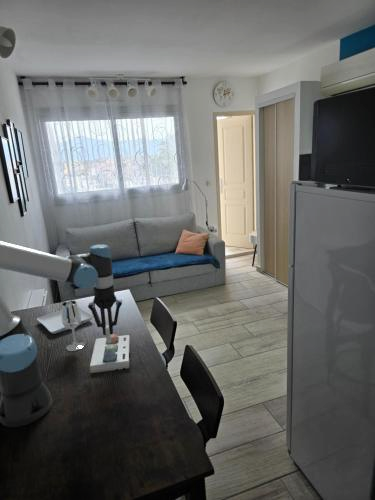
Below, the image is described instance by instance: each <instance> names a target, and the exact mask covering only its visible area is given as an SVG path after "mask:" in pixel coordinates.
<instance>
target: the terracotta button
mask: <svg viewBox="0 0 375 500" xmlns="http://www.w3.org/2000/svg"><path fill="white" fill-rule="evenodd" d="M117 336H118V335H117V334H116V333H113V334H111V343H108V344H116V343H118V339H117Z"/></svg>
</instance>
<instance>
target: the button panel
mask: <svg viewBox="0 0 375 500" xmlns="http://www.w3.org/2000/svg"><path fill="white" fill-rule="evenodd" d="M117 339H118V343H116V344H115V345H116V346H117V352H115V354H116V361H115V362H107V363H105V362H104V353H105V352H106V349H105V347H106V346H107V345H110V344H107V341H106V337H102V338H101V337H100V338H95V343H94V346H93V350H92V355H91V360H90V364H89V368H90V369H89V370H90V374H94V373H101V372H109V371H117V370H116V369H118V370H124V369H123V368H125V369H130V358H129V353H131V352H130V351H131V350H130V349H131V348H130V346H131V339H130V334H126V335H125V334H123V335H117Z"/></svg>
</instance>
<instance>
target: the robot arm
mask: <svg viewBox="0 0 375 500" xmlns="http://www.w3.org/2000/svg"><path fill="white" fill-rule="evenodd" d="M112 260H113V259H112V252H111V247H110V246H109V245H107V244H94V245H92V246H90V247H89V249H88V252H85V253H79V254H70V255H63V256H60V255H56V254H51V253H48V252H45V251H40V250H37V249H33V248H29V247H25V246H22V245H18V244H13V243H11V242H6V241H2V240H0V269H1V270H6V271H12V272H17V273H21V274H24V275H29V276H35V277H39V278H43V279H49V280H54V281H58V282H63V283H67V284H71V285H75V286H76V287H78V288H80V289H83V290H88V289H92V288H93V295H94V297H93V301H91V302H89V303H88V306H87V307H88V309H89V310H90V311H91V315H92V316H93V319H94V321H95V325H96V326H97V328H102V335H103V336H105V338H106V341H107V344H108V343H111V334H114V326H117V325H118V319H119V313H120V308H121V306H122V305H123V300H122V299H117V296H116V294H115V287H114V272H113V263H112ZM114 304H115V306H116V308H115V313H114V318H113V316H112V315H113V313H112V307H113V305H114ZM96 306H97V308H99V309H100V310H99V311H100V317H99V314H98V311H97V309H96ZM105 310H107V311H106V312H107V319H108V324H107V321H106V312H105ZM52 399H53V398H52V394H51V392H50V390H49V389H48V387H47V386H46V384H45V383H44V381H43V377H42V372H41V366H40V361H39V355H38V347H37V343H36V341H35V339H34V338H33V336H32V332H31V330H30V328H29V327H28V326H27V325H26V324H25V323H24V321H23V320H22V318H21V317H20V316H19V315H14V314H12V312H11V310H10V309H9V308H8V306H7V304H6V303H5V300H4V299H3V298H2V296H1V295H0V423H1V425H3V426H5V427H7V428H19V427H24V426H27V425H29V424H32V423H34V422H35V421H38V420H39V419H41V418H42V417H43V416H45V414H47V413H48V412H49V410H50V409H51V407H52V404H53V400H52Z"/></svg>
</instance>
